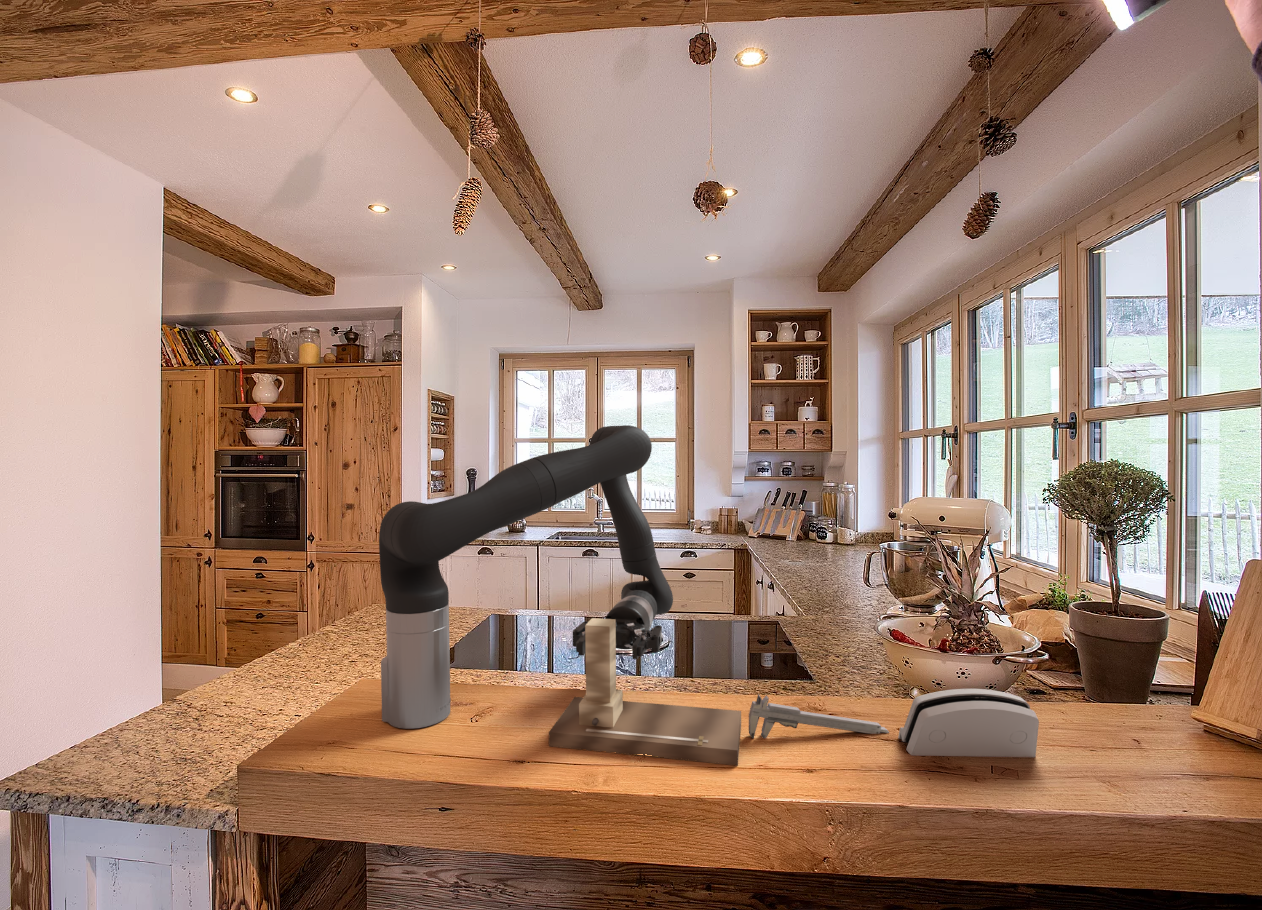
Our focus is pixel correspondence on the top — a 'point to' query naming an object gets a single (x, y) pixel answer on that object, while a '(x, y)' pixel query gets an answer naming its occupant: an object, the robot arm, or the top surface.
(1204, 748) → the top surface
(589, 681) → the beige tall block
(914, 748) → the grey toaster
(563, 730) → the board
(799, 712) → the caliper
